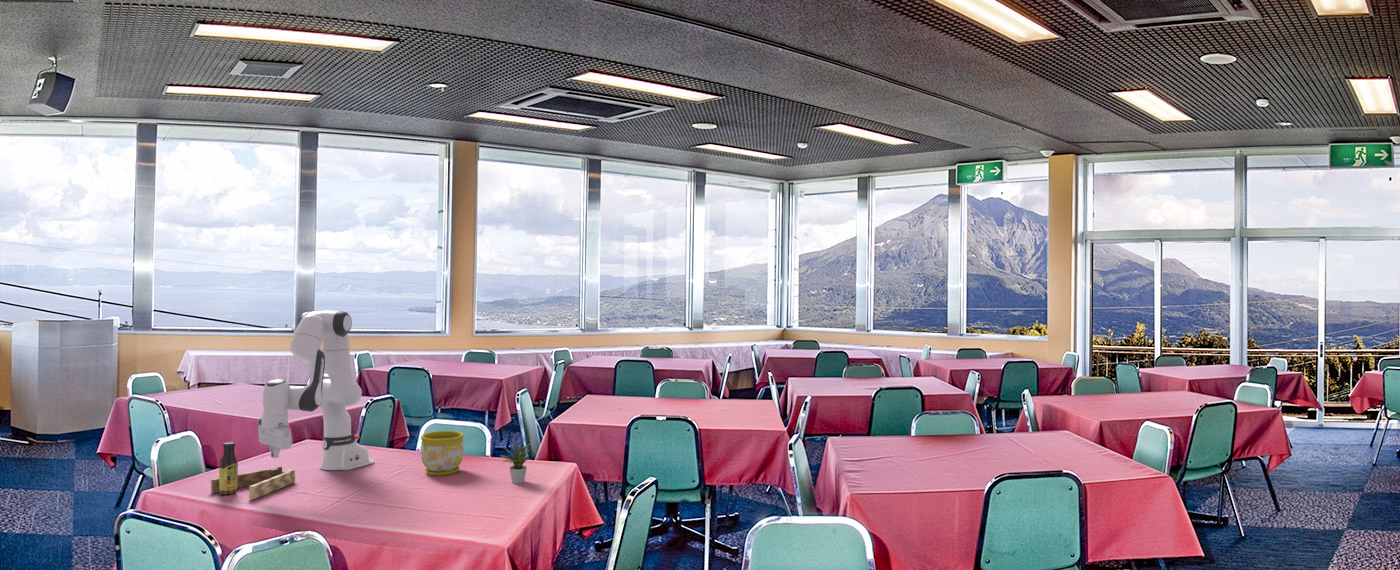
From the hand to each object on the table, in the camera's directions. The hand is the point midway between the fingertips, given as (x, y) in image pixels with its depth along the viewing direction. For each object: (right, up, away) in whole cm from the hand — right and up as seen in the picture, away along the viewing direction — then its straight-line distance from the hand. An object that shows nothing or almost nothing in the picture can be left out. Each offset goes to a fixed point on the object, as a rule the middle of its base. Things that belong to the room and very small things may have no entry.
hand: (274, 457), depth 309 cm
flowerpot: (+52, -15, +39) cm, 67 cm away
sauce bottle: (-20, -15, +4) cm, 26 cm away
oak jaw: (-6, -15, +8) cm, 18 cm away
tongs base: (-17, -15, +12) cm, 25 cm away
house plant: (+89, -16, +26) cm, 94 cm away
